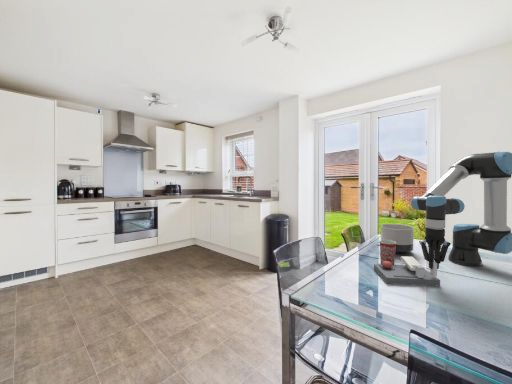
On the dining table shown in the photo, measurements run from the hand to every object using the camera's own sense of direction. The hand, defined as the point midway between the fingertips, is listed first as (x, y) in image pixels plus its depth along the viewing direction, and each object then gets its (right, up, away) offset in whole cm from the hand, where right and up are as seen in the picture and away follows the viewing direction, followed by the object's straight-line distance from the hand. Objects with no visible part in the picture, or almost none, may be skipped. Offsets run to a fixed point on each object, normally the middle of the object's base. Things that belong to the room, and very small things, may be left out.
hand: (433, 275), depth 113 cm
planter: (+11, -1, +49) cm, 50 cm away
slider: (-6, -1, +1) cm, 6 cm away
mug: (-6, -3, +29) cm, 29 cm away
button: (-15, 0, +14) cm, 20 cm away
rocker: (-3, +2, +11) cm, 11 cm away
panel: (-9, -4, +9) cm, 13 cm away
